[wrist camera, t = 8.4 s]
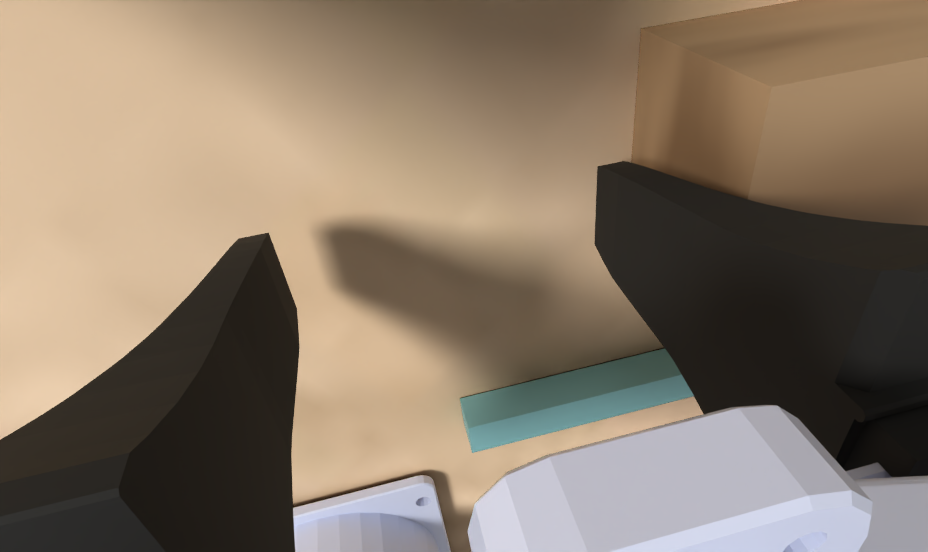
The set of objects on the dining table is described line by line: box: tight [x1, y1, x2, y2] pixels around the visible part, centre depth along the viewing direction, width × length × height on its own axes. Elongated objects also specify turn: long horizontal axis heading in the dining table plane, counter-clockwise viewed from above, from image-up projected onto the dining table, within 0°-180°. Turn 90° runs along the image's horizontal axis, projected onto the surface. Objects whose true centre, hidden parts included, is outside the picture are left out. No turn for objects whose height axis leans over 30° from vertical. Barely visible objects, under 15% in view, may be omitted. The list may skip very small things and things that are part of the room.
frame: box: [460, 348, 694, 453], centre depth 14 cm, size 16×16×1 cm
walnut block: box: [631, 0, 928, 226], centre depth 13 cm, size 6×6×4 cm
